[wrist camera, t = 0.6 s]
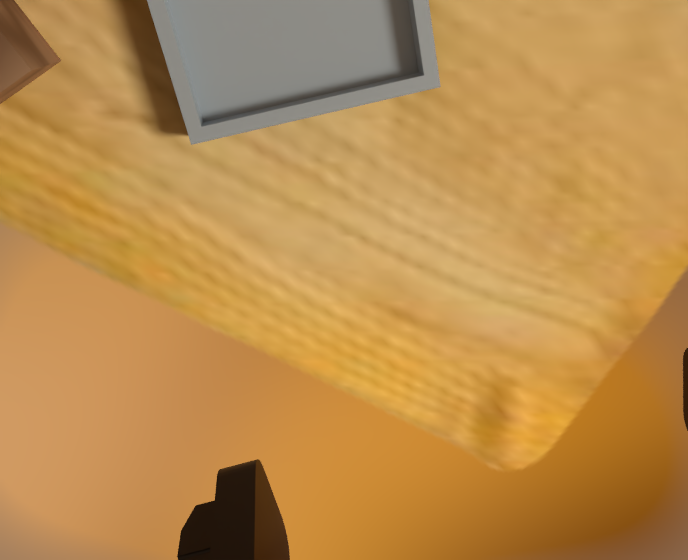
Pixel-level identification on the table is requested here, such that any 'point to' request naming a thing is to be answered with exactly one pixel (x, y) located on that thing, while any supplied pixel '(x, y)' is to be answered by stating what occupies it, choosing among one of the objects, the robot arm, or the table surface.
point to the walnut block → (20, 50)
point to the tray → (290, 58)
